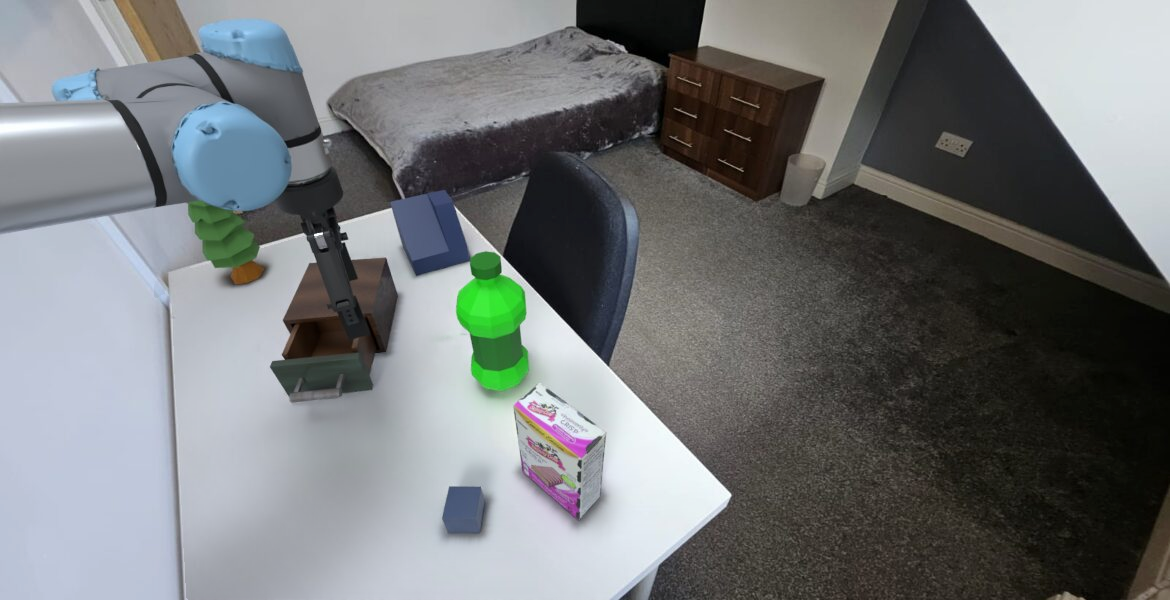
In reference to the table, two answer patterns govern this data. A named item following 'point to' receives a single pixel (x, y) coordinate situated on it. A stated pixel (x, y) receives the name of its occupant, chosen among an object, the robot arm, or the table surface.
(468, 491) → the block
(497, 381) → the plastic bottle
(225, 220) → the decorative tree
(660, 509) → the table surface
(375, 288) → the cabinet
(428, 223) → the phone stand
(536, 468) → the candy bar box
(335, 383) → the drawer
